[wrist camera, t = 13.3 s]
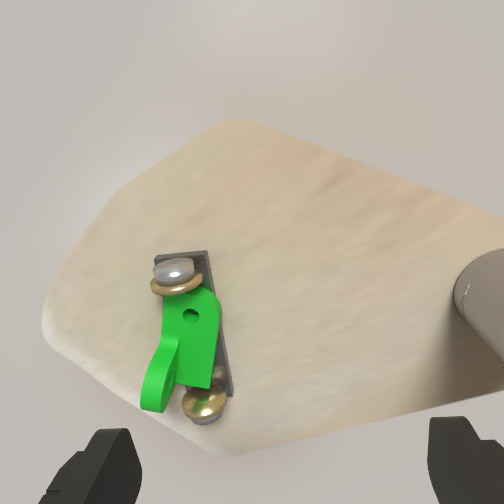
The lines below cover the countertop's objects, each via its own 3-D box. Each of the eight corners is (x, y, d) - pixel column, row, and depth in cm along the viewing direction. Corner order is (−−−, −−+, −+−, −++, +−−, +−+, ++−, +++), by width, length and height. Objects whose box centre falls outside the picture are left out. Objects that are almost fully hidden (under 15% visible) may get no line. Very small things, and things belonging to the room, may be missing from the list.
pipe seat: (207, 250, 38) (194, 273, 33) (233, 389, 45) (226, 428, 39) (157, 255, 39) (136, 279, 33) (190, 391, 45) (178, 430, 40)
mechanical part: (212, 377, 43) (198, 432, 35) (163, 368, 43) (139, 422, 36) (224, 290, 38) (211, 333, 31) (170, 281, 38) (143, 321, 31)
